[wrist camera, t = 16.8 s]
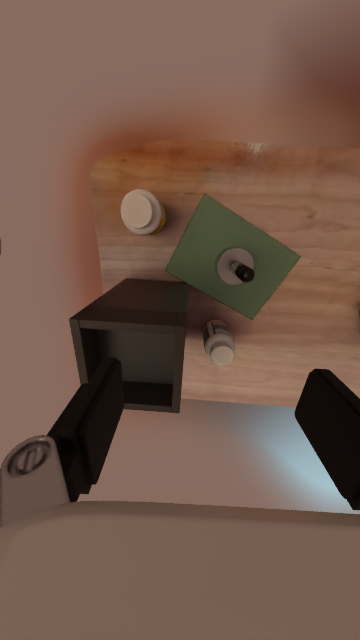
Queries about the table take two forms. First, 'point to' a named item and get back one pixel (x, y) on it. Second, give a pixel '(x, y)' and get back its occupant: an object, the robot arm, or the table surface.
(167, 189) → the table surface
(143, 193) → the supplement bottle
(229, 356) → the pill bottle
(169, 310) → the black box
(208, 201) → the green mat
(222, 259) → the meat pounder
